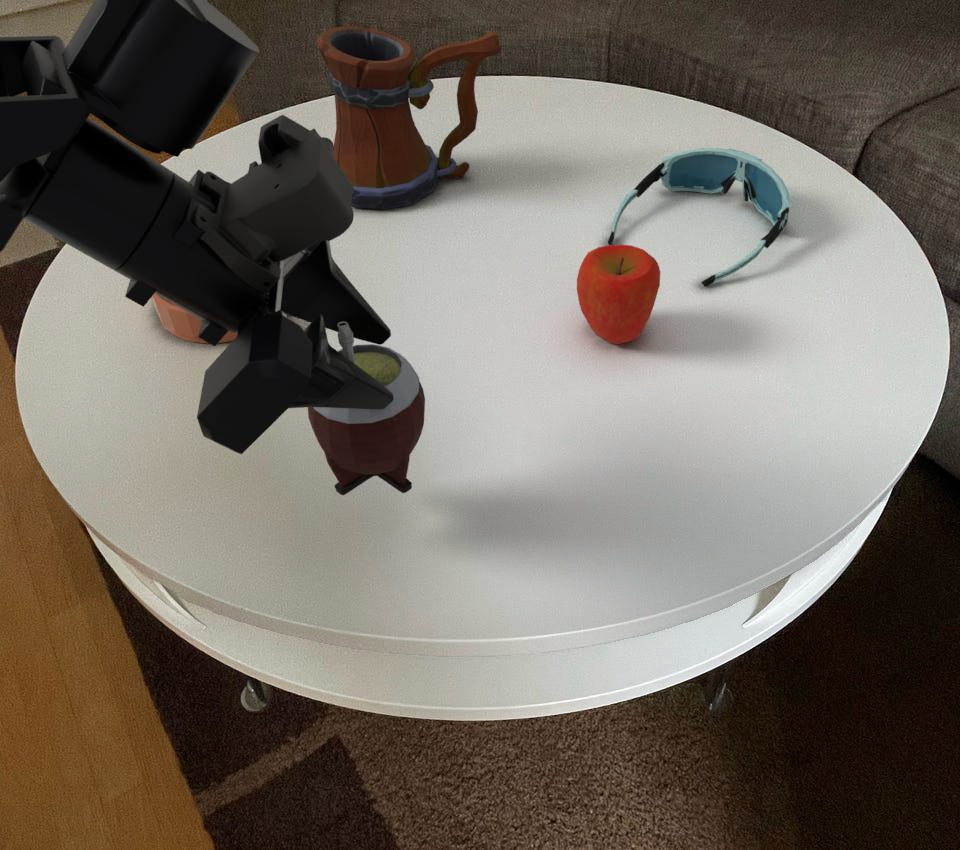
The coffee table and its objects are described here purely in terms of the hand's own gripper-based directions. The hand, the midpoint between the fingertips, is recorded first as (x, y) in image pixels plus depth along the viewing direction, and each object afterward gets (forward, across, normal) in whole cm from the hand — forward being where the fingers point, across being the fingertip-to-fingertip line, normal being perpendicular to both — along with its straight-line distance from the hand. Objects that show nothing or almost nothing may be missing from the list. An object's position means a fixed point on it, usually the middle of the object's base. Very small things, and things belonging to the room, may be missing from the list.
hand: (387, 369), depth 53 cm
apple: (+21, +16, -4) cm, 27 cm away
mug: (+11, +43, +7) cm, 45 cm away
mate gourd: (+5, -1, +7) cm, 8 cm away
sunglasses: (+28, +30, -12) cm, 43 cm away
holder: (-2, +25, +19) cm, 32 cm away
